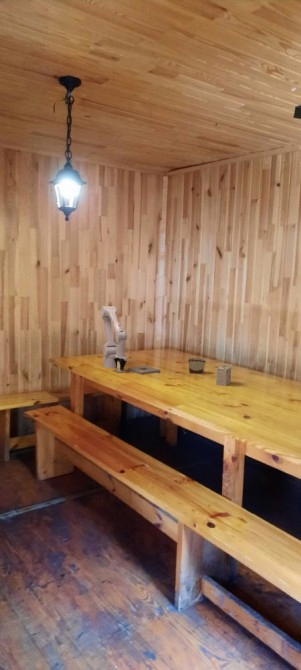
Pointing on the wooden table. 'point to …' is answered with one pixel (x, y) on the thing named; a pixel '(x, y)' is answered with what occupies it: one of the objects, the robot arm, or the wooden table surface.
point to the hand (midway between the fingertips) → (120, 369)
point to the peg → (118, 367)
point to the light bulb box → (223, 375)
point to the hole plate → (144, 370)
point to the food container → (196, 365)
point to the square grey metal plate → (120, 372)
